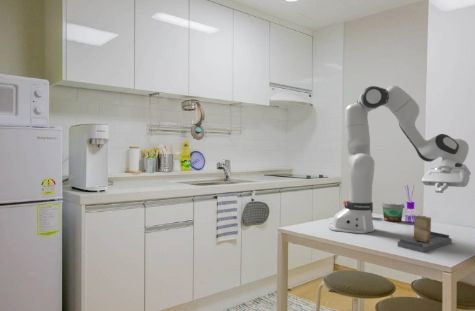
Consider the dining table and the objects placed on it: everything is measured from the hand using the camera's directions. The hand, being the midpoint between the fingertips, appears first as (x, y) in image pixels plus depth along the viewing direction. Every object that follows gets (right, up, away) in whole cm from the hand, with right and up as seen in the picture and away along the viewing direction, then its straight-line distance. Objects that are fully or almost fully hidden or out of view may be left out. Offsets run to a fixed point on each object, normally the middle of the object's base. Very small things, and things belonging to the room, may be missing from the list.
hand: (438, 192), depth 171 cm
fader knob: (-13, -20, -10) cm, 25 cm away
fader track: (-10, -22, -8) cm, 26 cm away
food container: (-5, -20, +36) cm, 42 cm away
